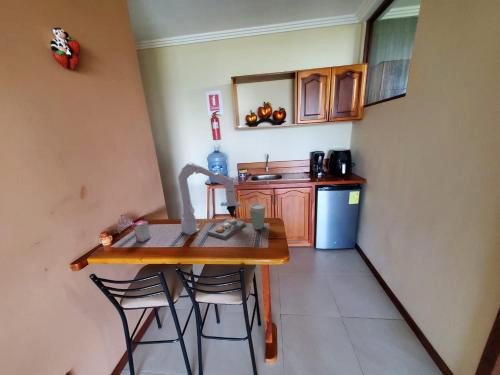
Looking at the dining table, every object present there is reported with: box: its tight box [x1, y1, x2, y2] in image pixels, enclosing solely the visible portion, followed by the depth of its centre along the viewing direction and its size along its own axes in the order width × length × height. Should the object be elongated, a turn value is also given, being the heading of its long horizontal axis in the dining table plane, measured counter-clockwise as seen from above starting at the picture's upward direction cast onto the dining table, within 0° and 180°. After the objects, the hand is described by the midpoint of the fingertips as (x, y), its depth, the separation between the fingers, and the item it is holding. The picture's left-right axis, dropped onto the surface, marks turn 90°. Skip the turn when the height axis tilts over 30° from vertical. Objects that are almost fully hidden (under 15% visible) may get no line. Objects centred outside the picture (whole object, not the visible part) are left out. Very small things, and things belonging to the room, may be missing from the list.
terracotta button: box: [217, 227, 223, 233], centre depth 120 cm, size 4×4×2 cm
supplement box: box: [132, 220, 151, 243], centre depth 119 cm, size 6×6×12 cm
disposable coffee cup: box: [248, 203, 266, 230], centre depth 124 cm, size 11×11×15 cm
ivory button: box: [224, 223, 230, 229], centre depth 126 cm, size 4×4×2 cm
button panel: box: [206, 218, 246, 240], centre depth 126 cm, size 14×21×2 cm, turn 148°
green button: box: [230, 218, 237, 225], centre depth 131 cm, size 4×4×2 cm
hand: (232, 216), depth 130 cm, fingers closed
